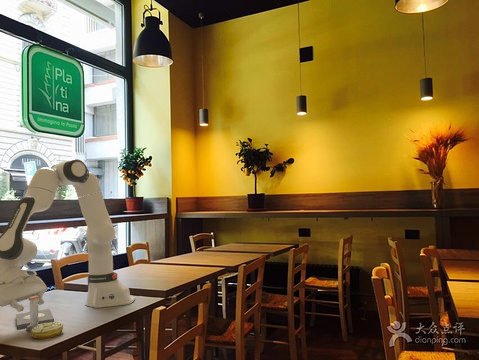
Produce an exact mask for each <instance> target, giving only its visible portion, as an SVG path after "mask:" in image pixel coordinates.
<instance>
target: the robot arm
mask: <svg viewBox="0 0 479 360" xmlns="http://www.w3.org/2000/svg"><path fill="white" fill-rule="evenodd" d="M64 186H72V187H73V188H74V189H75V192H76V197H77V200H78V203H79V207H80V210H81V213H82V216H83V218H84V219H83V220H84V222H85V224H86V227H87V228H86V231H85V232H86V246H87V257H88V273H87V287H88V289H87V290H88V291H87V296H86V301H85V306H88V307H92V308H94V309H98V308H107V307H115V306H117V307H118V306H123V305H126V306H127V305H130V304H131V303H133V302H134V301H135V296H134V295H131V294H130V289H129V286H127V285H126V284H124V283H123V282H121V280H119V279H118V272H115V271H114V259H113V258H114V257H113V256H114V255H113V252H112V246H111V245H112V244H111V243H112V241H114V239H115V237H116V231H115V228H114V224H113V222H112V220H111V217H110V214H109V212H108V210H107V207H106V204H105V199H104V196H103V193H102V189H101V187H100V186H101V185H100V183H99V181H98V179H97V176H96V175H95V173H93V172H92V171H91V172H90V170H89V169H88V167H87V165H86V163H85V162H84V161H82V160H81V159H78V158H70V159H67V160H63V161H61V162H59V163H57V164H54V165H53V166H51V167H40V168H38V169H36V171H35V173H34V174H33V175H32V178H31V180H30V182H29V184H28V186H27V190H26V192H25V193H24V195H23V197H22V198H21V199H20V200H19V202H17V204H16V206H15V208H14V210H13V212H12V215H11V217H10V218H9V220H8V223H7V224H6V227H5V229H4V230H3V232H2V233H1V234H0V307H1V308H2V307H5V306H10V307H11V308H13V309H15V310H16V311H17V312H18V313H19V312H23V311H24V310H25V307H24V306H23V304H19V303H20V302H22V301H23V302H24V301H26V300H29V297H32V296H39V299H38V306H42V305H43V304H44V303H45V300H44V299H43V295H44V294H45V293H46V291H48V287H47V285H46V284H45V282H44V281H43V280H42V278H40V277H39V276H37V275H38V274H37V272H36V271H35V270H26V269H22V267H24V266H25V265H28V264H29V263H30V262H31V261H33V260H34V259H35V258H36V256H37V254H38V247H37V245H36V243H34V242H33V241H31V240H29V239H27V238H25V237H24V235H23V234H24V231H25V229H26V227H27V224H28V221H29V220H30V217H31V216H32V215H33V214H35V213H41V212H44V211H47V210H49V208H51V206H52V205H53V202H54V199H55V196H56V192H57V189H58V188H59V187H64Z"/></svg>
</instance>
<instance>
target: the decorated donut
mask: <svg viewBox="0 0 479 360" xmlns="http://www.w3.org/2000/svg"><path fill="white" fill-rule="evenodd" d="M63 329H64V324H63V323H62V322H57V321H54V322H49V323H43V324H39V325H37V326H35V327H34V328H33V329H32V330H31V331H30V333H31V335H32V337H33V338H34V339H39V340H40V339H41V340H42V339H51V338H55V337H56V336H57V337H58V335H60V334H61V333H62V331H63Z"/></svg>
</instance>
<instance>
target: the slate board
mask: <svg viewBox="0 0 479 360" xmlns="http://www.w3.org/2000/svg"><path fill="white" fill-rule="evenodd" d="M15 321H16V322H15V323H16V329H17V330H20V329H26V326H29V325H30V311H29V312H22V313H16V314H15ZM49 322H55V318H54V316H53V314H52V312H51V310H50V308H47V309H42V310H38V324H43V323H49Z"/></svg>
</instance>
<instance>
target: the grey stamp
mask: <svg viewBox="0 0 479 360" xmlns="http://www.w3.org/2000/svg"><path fill="white" fill-rule="evenodd" d="M38 299H39V296H32V297H29V299H28V301H29V312H30V325H29V326H26V328H25V331H26V332H32V331H31V330H32V329H33V328H34V327H35V326H37V325H39V324H38V311H39V305H38Z"/></svg>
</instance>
